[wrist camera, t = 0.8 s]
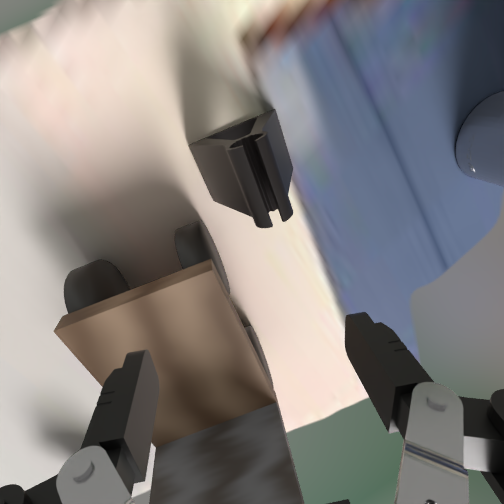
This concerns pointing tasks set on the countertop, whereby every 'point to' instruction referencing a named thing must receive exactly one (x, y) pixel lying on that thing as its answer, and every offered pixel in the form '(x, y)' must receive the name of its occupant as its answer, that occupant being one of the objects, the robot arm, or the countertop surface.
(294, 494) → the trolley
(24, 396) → the countertop surface
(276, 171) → the phone stand
